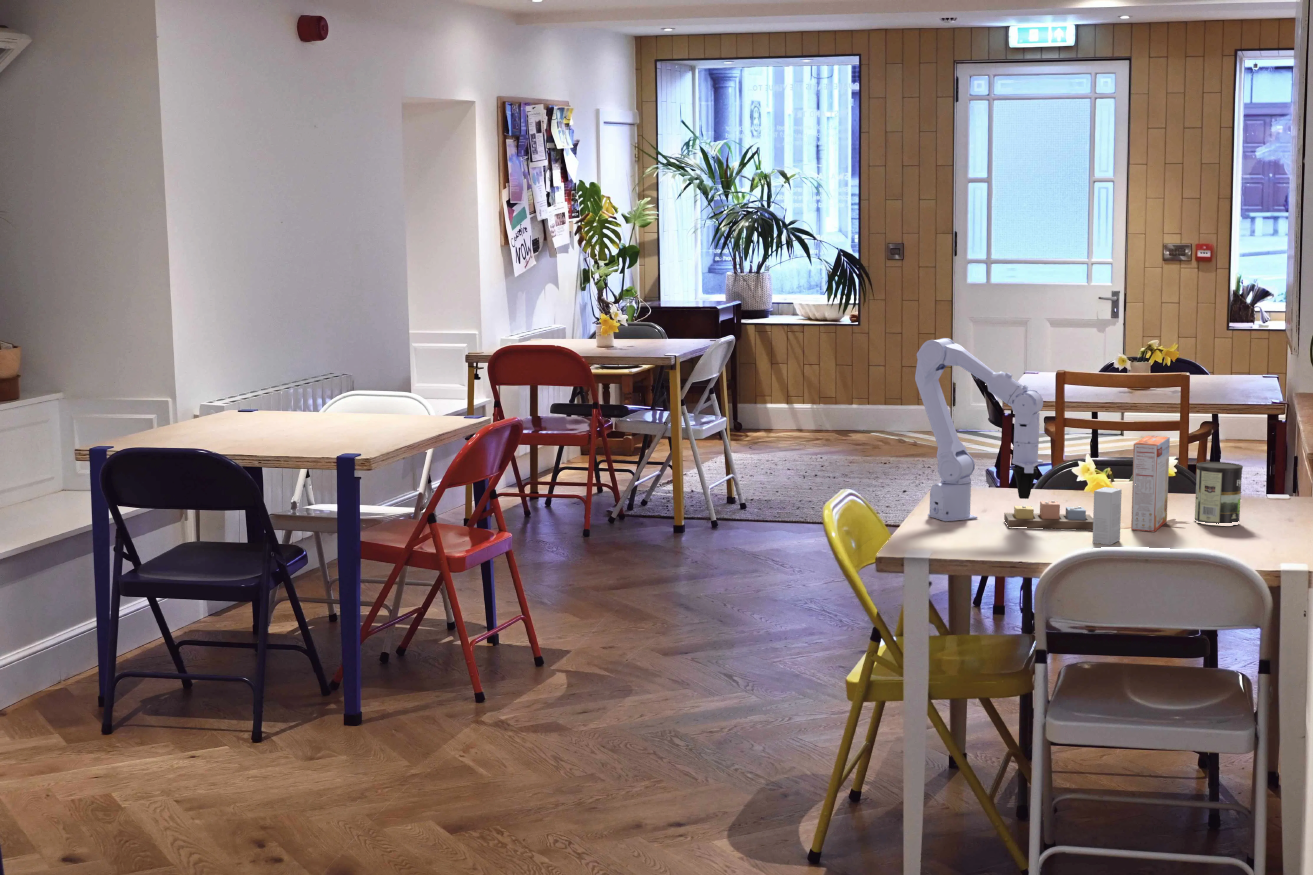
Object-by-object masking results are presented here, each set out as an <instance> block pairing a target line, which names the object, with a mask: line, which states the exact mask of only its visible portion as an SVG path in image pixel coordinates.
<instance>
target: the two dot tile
mask: <svg viewBox="0 0 1313 875" xmlns="http://www.w3.org/2000/svg"><path fill="white" fill-rule="evenodd" d="M1060 508H1061V504H1060V503H1059V501H1056V500H1050V501H1049V500H1040V502H1039V513H1040V516H1041V518H1042V519H1059V517H1060V514H1061V512H1060V510H1061V509H1060Z"/></svg>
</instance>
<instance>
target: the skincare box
mask: <svg viewBox="0 0 1313 875" xmlns="http://www.w3.org/2000/svg"><path fill="white" fill-rule="evenodd" d="M1121 513H1122V488H1115V487H1106V486H1105V487H1104V486H1103V487H1102V488H1098V489H1096V490H1094V491H1093V517H1092V518H1093V530H1092V543H1093V542H1094V543H1093V544H1098V543H1101V544H1100V545H1106V546H1110V545H1113V544H1115V543H1118V542H1119V541H1120V540H1121V525H1122V524H1121V520H1122V519H1121V518H1122V517H1121V515H1122V514H1121Z"/></svg>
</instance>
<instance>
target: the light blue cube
mask: <svg viewBox="0 0 1313 875" xmlns="http://www.w3.org/2000/svg"><path fill="white" fill-rule="evenodd" d="M1065 514H1066V516H1065V519H1066V520H1086V514H1087V510H1086V509H1085V508H1084V507H1083V506H1080V505H1079V506H1065Z"/></svg>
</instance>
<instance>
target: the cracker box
mask: <svg viewBox="0 0 1313 875" xmlns="http://www.w3.org/2000/svg"><path fill="white" fill-rule="evenodd" d="M1170 437H1171V436H1160V435H1159V436H1158V435H1145V436H1144V437H1142V438H1141V439H1139V440H1138V441H1135V442H1134V443H1133V455H1132V456H1133V458H1132V462H1133V463H1132V484H1131V485H1132V486H1131V487H1132V488H1131V490H1132V492H1131V494H1132V495H1131V523H1130V528H1131V529H1130V530H1132V531H1136V532H1152V533H1156V532H1157V531H1158V530H1159V529H1161V527H1162V526H1163V525H1164V524H1165V523H1166V522H1167V521H1168V498H1169V497H1168V495H1169V474H1170V473H1169V468H1170V467H1169V466H1170V442H1171V441H1170V440H1171V439H1170ZM1135 484H1136V485H1135Z"/></svg>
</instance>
